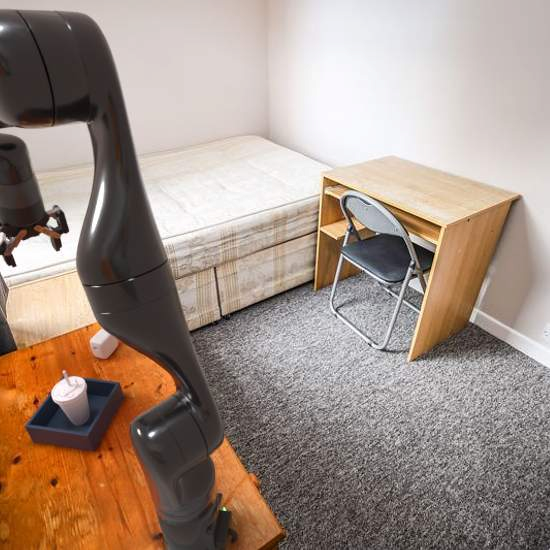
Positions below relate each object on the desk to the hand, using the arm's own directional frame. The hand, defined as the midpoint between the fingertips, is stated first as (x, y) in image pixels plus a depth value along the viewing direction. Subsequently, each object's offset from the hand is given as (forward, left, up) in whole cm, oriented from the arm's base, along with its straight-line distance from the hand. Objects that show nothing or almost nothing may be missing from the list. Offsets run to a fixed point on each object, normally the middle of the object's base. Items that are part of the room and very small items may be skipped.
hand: (35, 256), depth 80 cm
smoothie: (-11, +16, -30) cm, 36 cm away
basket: (-11, +16, -30) cm, 36 cm away
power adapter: (-7, -6, -30) cm, 32 cm away
